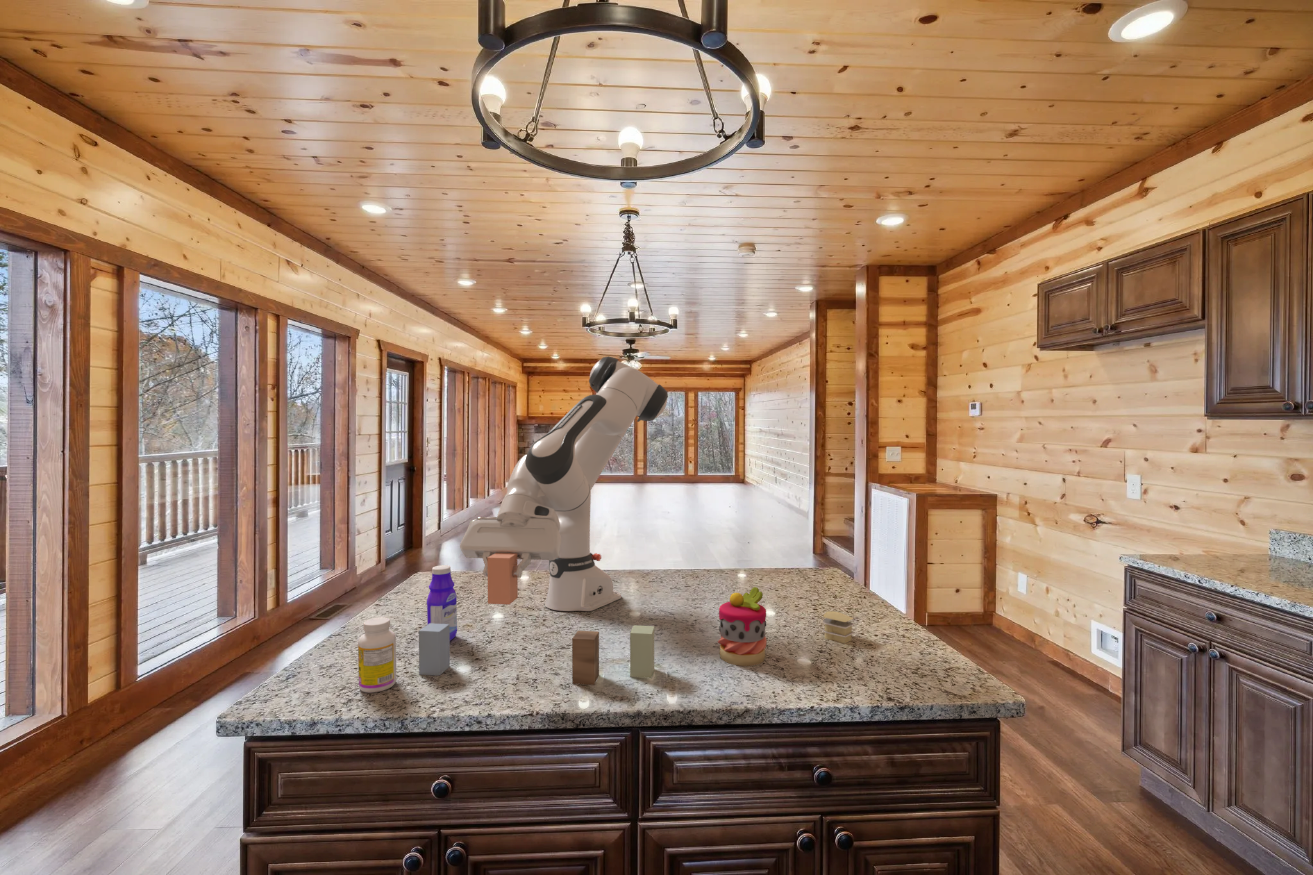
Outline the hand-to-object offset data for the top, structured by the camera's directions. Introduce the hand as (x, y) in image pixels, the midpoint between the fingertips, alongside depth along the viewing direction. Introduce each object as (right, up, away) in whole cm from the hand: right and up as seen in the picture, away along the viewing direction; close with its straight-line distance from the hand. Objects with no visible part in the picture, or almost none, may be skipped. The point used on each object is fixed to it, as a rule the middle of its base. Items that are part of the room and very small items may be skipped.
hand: (501, 575), depth 114 cm
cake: (+49, -21, +14) cm, 55 cm away
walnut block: (+16, -21, +2) cm, 27 cm away
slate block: (-16, -21, +6) cm, 27 cm away
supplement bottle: (-24, -22, -1) cm, 32 cm away
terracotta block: (0, -5, +1) cm, 5 cm away
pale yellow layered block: (+74, -21, +25) cm, 81 cm away
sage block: (+28, -21, +5) cm, 35 cm away
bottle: (-20, -21, +23) cm, 37 cm away
